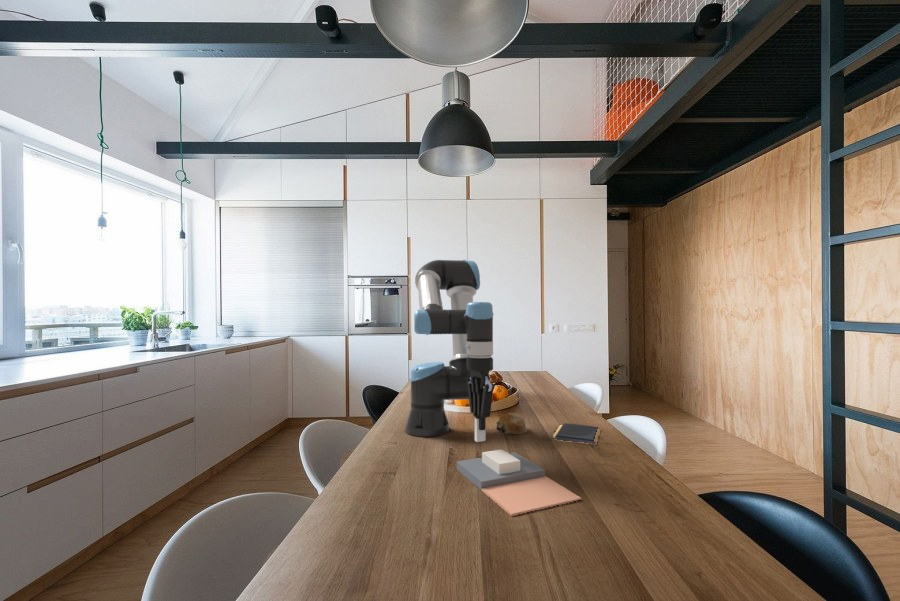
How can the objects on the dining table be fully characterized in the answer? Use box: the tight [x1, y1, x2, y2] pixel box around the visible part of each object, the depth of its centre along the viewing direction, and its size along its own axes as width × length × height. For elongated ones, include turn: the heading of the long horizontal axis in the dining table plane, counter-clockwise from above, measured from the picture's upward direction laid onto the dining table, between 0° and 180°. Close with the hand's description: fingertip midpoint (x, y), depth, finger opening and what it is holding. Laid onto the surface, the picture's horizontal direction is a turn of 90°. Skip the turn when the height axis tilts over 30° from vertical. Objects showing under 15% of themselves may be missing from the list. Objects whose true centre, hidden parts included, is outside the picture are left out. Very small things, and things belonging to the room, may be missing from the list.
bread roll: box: [496, 412, 527, 436], centre depth 143 cm, size 10×10×8 cm
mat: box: [481, 475, 582, 517], centre depth 93 cm, size 13×18×1 cm
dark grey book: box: [550, 422, 599, 444], centre depth 140 cm, size 20×2×15 cm
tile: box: [481, 448, 520, 474], centre depth 106 cm, size 9×6×2 cm, turn 23°
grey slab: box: [456, 451, 546, 491], centre depth 106 cm, size 14×18×2 cm
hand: (480, 440), depth 116 cm, fingers closed
